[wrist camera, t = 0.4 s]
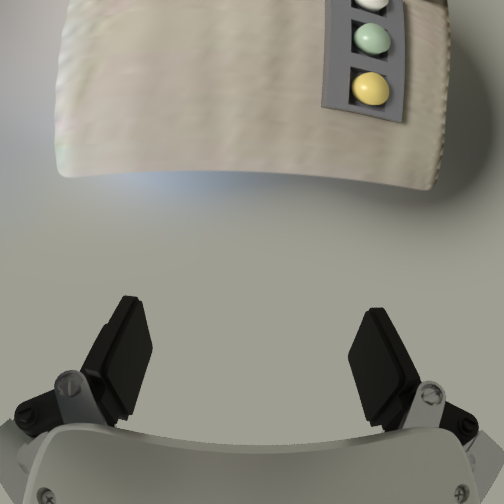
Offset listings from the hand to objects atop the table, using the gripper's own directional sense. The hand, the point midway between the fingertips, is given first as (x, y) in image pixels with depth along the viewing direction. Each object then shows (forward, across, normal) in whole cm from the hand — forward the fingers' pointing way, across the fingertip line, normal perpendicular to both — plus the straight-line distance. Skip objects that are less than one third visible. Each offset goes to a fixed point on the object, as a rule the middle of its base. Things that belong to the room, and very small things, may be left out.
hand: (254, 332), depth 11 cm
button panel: (+29, -14, -22) cm, 39 cm away
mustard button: (+27, -14, -14) cm, 34 cm away
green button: (+27, -14, -22) cm, 37 cm away
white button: (+27, -14, -29) cm, 42 cm away
